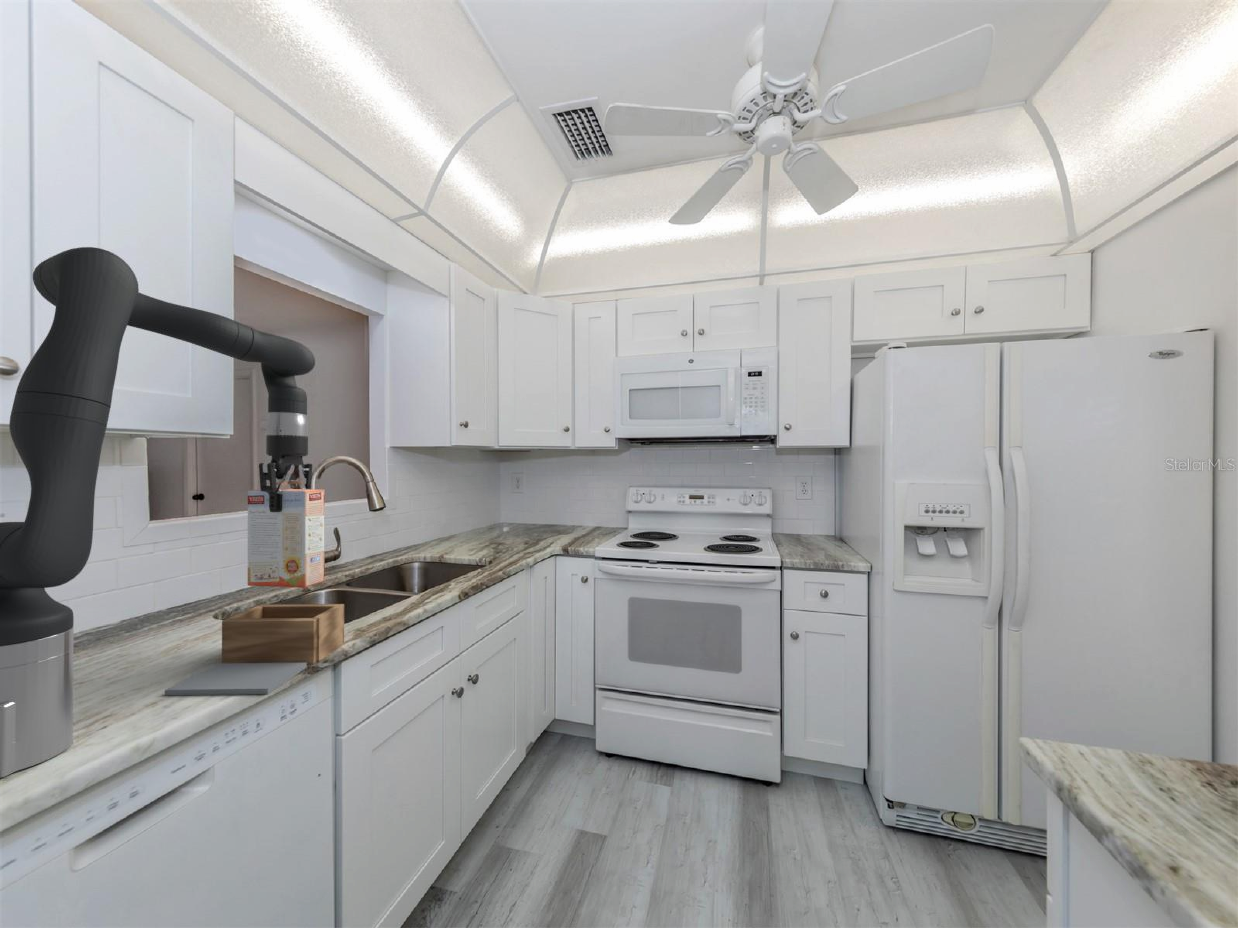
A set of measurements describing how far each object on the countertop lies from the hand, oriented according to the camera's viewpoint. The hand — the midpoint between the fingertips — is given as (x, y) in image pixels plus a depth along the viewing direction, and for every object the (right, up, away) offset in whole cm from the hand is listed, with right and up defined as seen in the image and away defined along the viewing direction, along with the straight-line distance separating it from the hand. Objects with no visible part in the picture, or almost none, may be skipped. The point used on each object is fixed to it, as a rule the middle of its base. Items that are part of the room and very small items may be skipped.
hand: (287, 510), depth 102 cm
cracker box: (0, -16, 0) cm, 16 cm away
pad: (0, -31, -13) cm, 34 cm away
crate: (0, -31, 0) cm, 31 cm away
